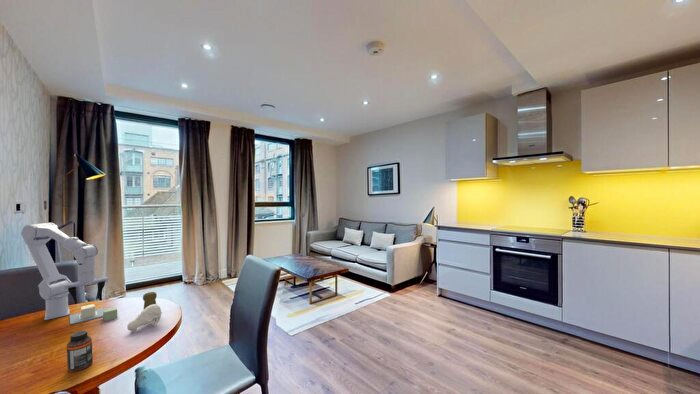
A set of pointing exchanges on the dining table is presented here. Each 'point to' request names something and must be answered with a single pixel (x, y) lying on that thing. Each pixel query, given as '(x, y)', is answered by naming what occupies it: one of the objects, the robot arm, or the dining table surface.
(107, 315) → the sage block
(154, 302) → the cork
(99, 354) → the dining table surface
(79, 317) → the plate
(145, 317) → the white lumpy piece
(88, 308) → the cream block
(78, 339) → the supplement bottle
